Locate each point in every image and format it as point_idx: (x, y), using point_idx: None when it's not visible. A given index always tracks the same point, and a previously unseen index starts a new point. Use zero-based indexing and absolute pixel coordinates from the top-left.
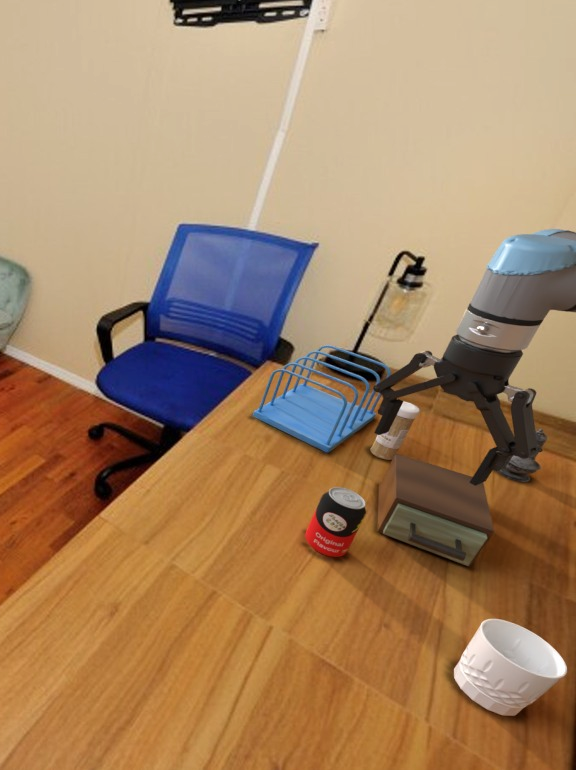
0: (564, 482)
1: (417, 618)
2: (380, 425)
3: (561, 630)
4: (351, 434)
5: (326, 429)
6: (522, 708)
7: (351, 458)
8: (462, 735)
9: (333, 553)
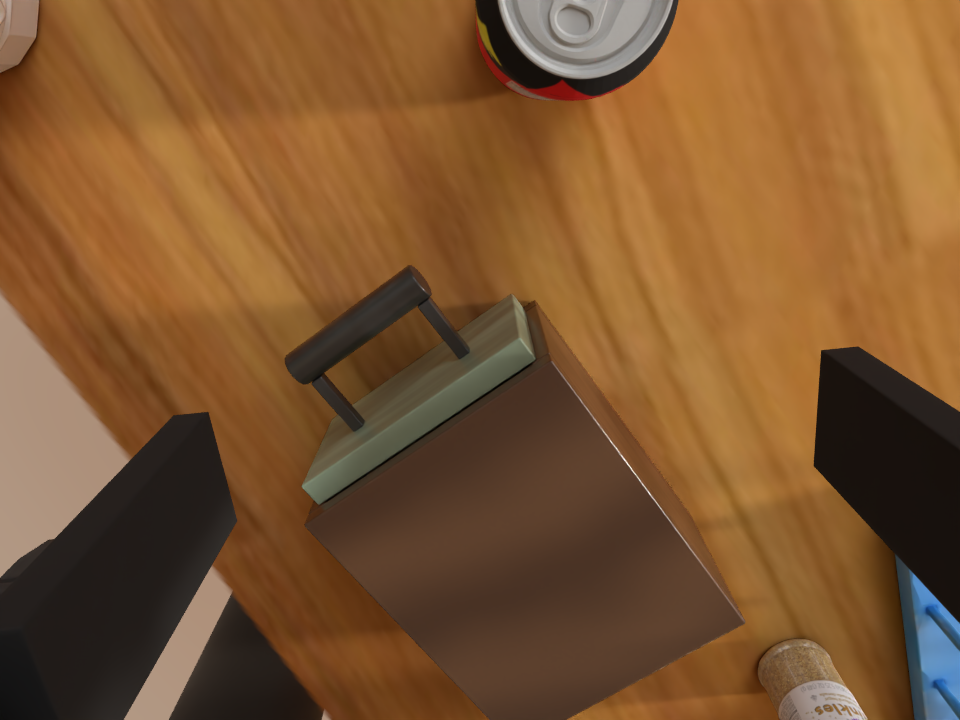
0: None
1: (210, 56)
2: (890, 383)
3: (120, 437)
4: (911, 663)
5: None
6: None
7: (826, 557)
8: None
9: None
